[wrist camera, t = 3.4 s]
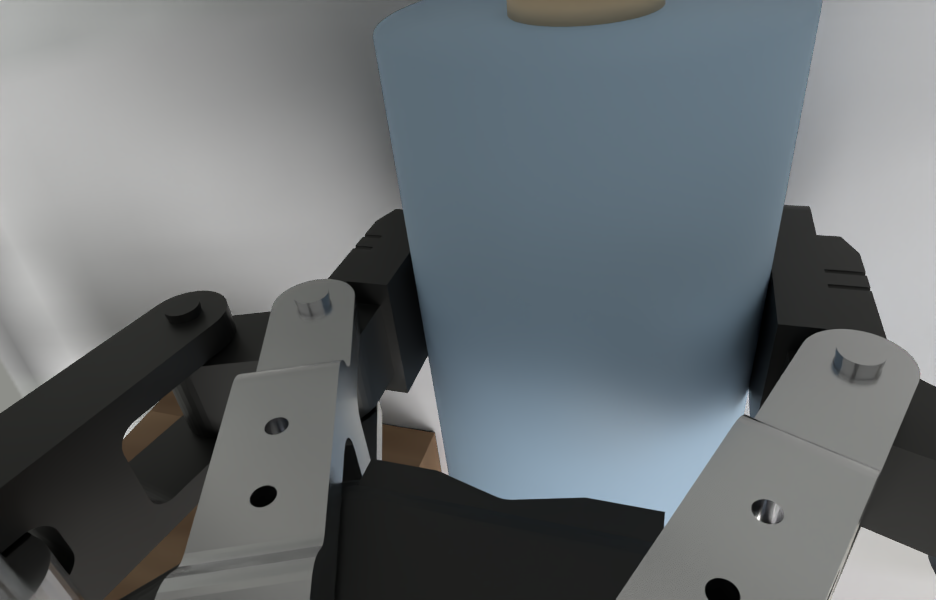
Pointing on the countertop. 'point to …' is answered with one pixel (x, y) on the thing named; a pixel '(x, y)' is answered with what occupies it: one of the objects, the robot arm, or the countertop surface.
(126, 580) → the cradle
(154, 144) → the countertop surface
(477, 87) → the cylinder
